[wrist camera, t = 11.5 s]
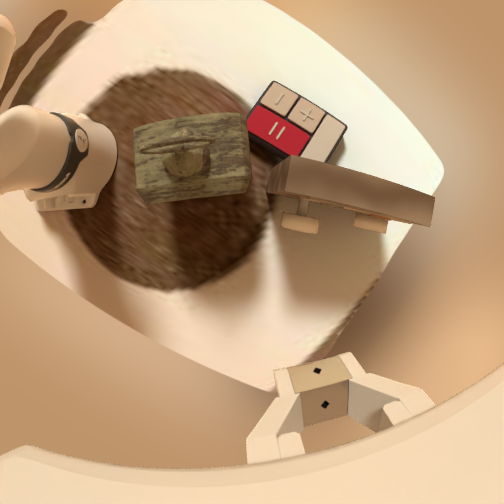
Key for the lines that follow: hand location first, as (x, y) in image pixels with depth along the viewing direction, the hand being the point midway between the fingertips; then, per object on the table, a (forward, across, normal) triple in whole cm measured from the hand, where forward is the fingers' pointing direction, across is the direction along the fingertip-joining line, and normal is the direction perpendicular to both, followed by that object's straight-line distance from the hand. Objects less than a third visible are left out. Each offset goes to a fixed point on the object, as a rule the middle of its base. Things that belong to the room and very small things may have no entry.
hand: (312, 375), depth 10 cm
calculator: (+40, -10, -16) cm, 44 cm away
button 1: (+33, -8, -4) cm, 34 cm away
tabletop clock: (+39, +6, -12) cm, 41 cm away
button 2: (+32, -19, -2) cm, 37 cm away
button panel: (+39, -14, -5) cm, 42 cm away
